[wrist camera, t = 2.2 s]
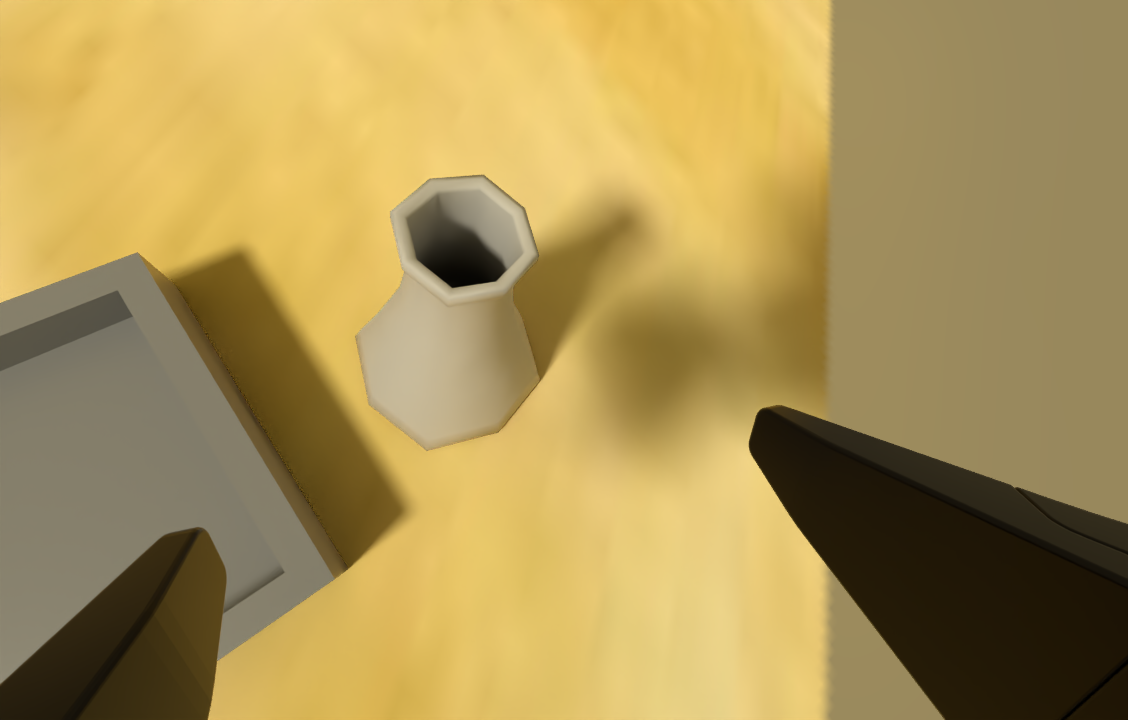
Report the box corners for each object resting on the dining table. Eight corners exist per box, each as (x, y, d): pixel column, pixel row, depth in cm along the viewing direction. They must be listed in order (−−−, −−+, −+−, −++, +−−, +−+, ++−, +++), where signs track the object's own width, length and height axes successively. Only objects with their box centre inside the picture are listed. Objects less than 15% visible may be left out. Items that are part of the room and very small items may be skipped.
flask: (478, 257, 22) (512, 69, 12) (566, 388, 21) (673, 293, 12) (323, 330, 19) (218, 160, 10) (418, 484, 18) (403, 460, 9)
